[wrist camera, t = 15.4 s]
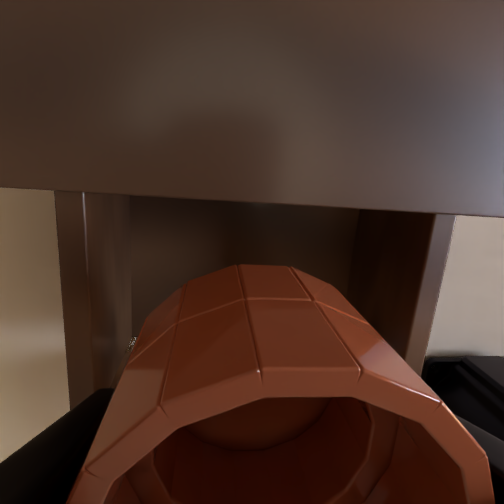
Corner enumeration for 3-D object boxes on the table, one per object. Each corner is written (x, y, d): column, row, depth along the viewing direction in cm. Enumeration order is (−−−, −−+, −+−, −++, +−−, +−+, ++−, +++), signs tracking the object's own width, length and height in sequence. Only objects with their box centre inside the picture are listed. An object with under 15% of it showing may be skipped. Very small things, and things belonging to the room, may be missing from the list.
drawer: (340, 440, 21) (399, 568, 15) (109, 446, 19) (57, 596, 13) (398, 98, 16) (527, 56, 10) (94, 65, 14) (-5, -13, 8)
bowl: (380, 263, 10) (548, 368, 5) (346, 460, 11) (445, 684, 6) (130, 253, 9) (27, 368, 4) (134, 467, 10) (66, 729, 6)
